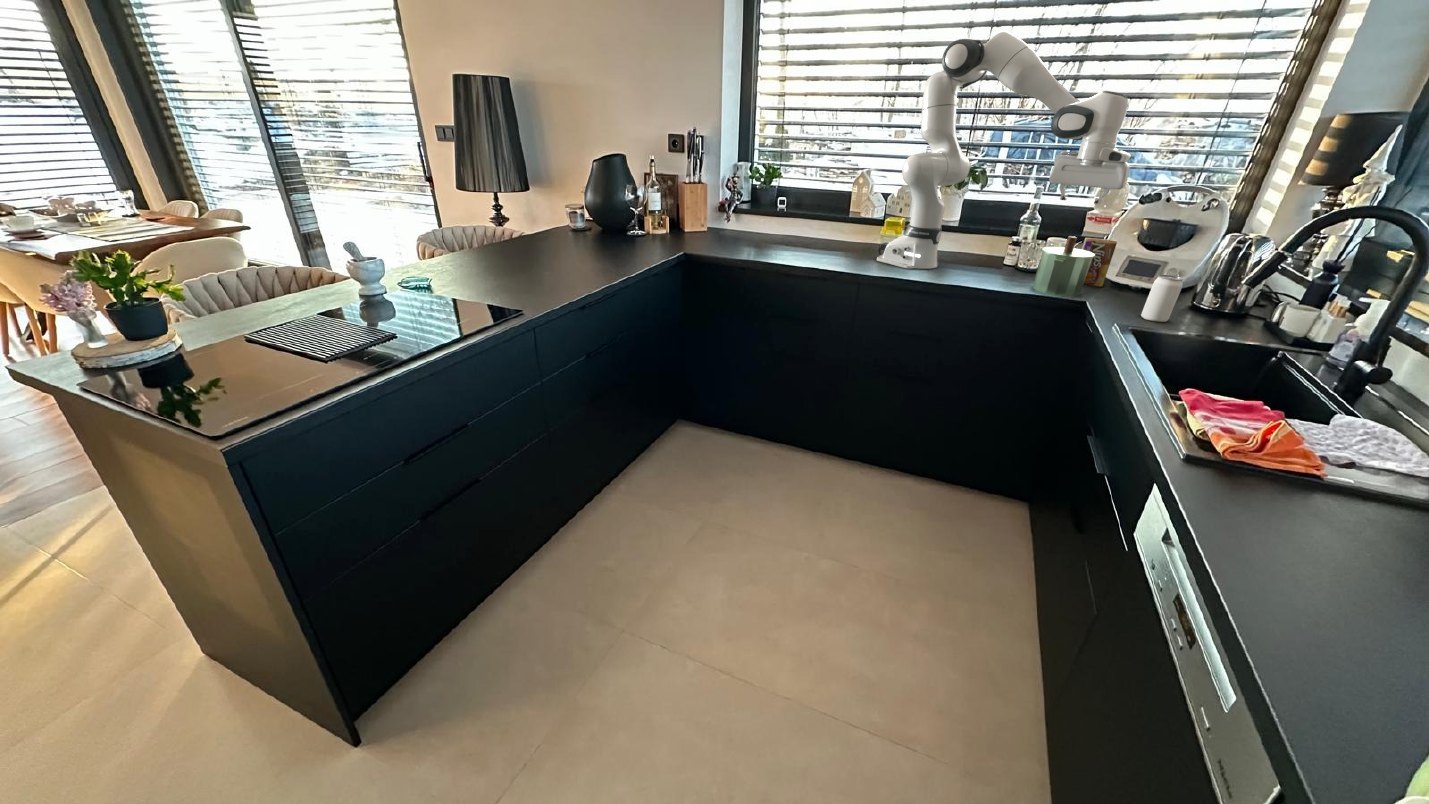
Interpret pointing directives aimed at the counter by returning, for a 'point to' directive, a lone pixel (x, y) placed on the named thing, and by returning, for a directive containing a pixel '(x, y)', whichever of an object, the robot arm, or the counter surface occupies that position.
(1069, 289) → the pot
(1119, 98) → the robot arm
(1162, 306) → the can
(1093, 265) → the candy box
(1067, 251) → the lid
